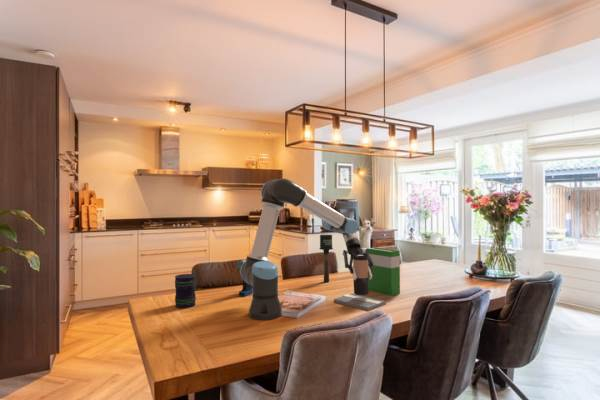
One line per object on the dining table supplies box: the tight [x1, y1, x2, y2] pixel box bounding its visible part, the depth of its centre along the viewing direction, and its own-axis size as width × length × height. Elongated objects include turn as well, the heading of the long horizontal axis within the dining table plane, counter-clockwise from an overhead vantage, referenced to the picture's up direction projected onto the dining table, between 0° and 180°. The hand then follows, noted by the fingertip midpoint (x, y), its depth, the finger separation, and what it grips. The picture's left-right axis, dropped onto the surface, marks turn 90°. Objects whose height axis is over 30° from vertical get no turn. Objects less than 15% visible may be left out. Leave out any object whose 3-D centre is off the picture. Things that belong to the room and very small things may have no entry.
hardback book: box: [365, 246, 401, 297], centre depth 200 cm, size 18×7×24 cm, turn 38°
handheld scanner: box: [236, 259, 253, 297], centre depth 198 cm, size 5×16×20 cm, turn 152°
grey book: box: [333, 293, 386, 312], centre depth 178 cm, size 15×21×2 cm
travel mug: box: [352, 252, 369, 296], centre depth 180 cm, size 8×8×20 cm
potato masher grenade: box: [319, 233, 334, 283], centre depth 225 cm, size 8×9×30 cm
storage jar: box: [174, 273, 197, 310], centre depth 176 cm, size 10×10×15 cm
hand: (363, 278), depth 177 cm, fingers closed on travel mug, 7 cm apart
